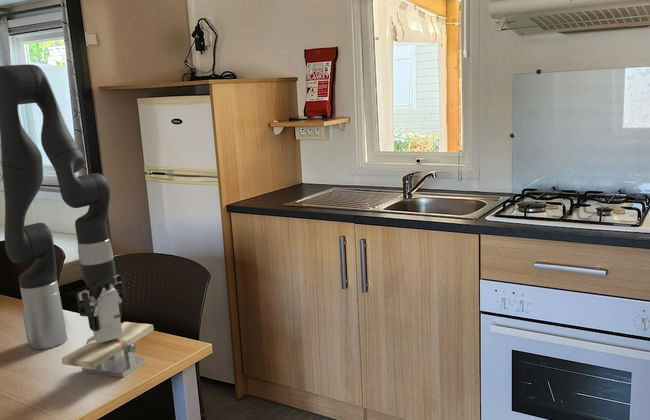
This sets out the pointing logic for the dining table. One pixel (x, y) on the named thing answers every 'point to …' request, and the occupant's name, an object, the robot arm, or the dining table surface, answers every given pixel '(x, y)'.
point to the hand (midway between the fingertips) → (106, 323)
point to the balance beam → (106, 346)
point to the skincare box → (108, 317)
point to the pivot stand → (118, 362)
